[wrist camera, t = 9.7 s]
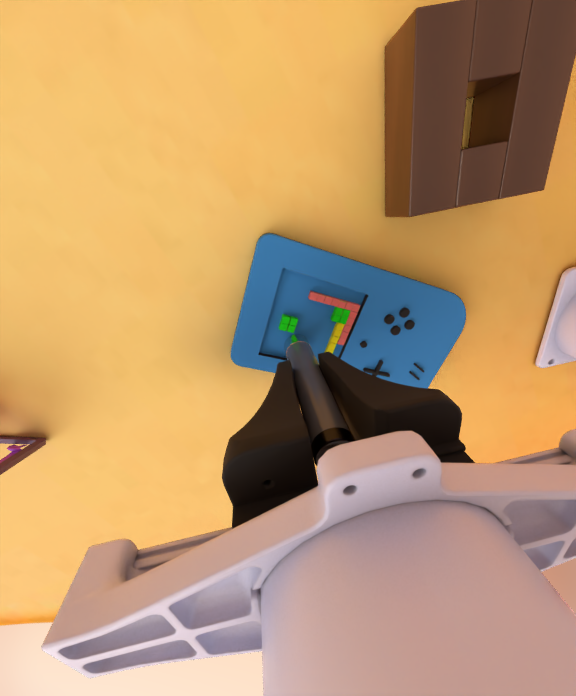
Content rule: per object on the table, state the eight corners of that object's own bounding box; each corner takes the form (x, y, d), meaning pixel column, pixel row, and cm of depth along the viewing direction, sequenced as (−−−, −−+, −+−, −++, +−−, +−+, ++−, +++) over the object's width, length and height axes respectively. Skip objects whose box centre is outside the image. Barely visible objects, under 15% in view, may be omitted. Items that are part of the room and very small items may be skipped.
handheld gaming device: (422, 403, 21) (227, 366, 17) (414, 395, 22) (228, 358, 18) (484, 303, 17) (260, 230, 14) (471, 298, 18) (260, 229, 15)
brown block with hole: (530, 21, 12) (594, -24, 10) (500, 193, 16) (544, 190, 13) (384, 46, 12) (416, 6, 10) (385, 216, 15) (409, 217, 13)
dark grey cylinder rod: (306, 331, 17) (358, 434, 9) (310, 353, 18) (361, 466, 10) (281, 336, 17) (311, 445, 9) (286, 358, 18) (317, 477, 10)
